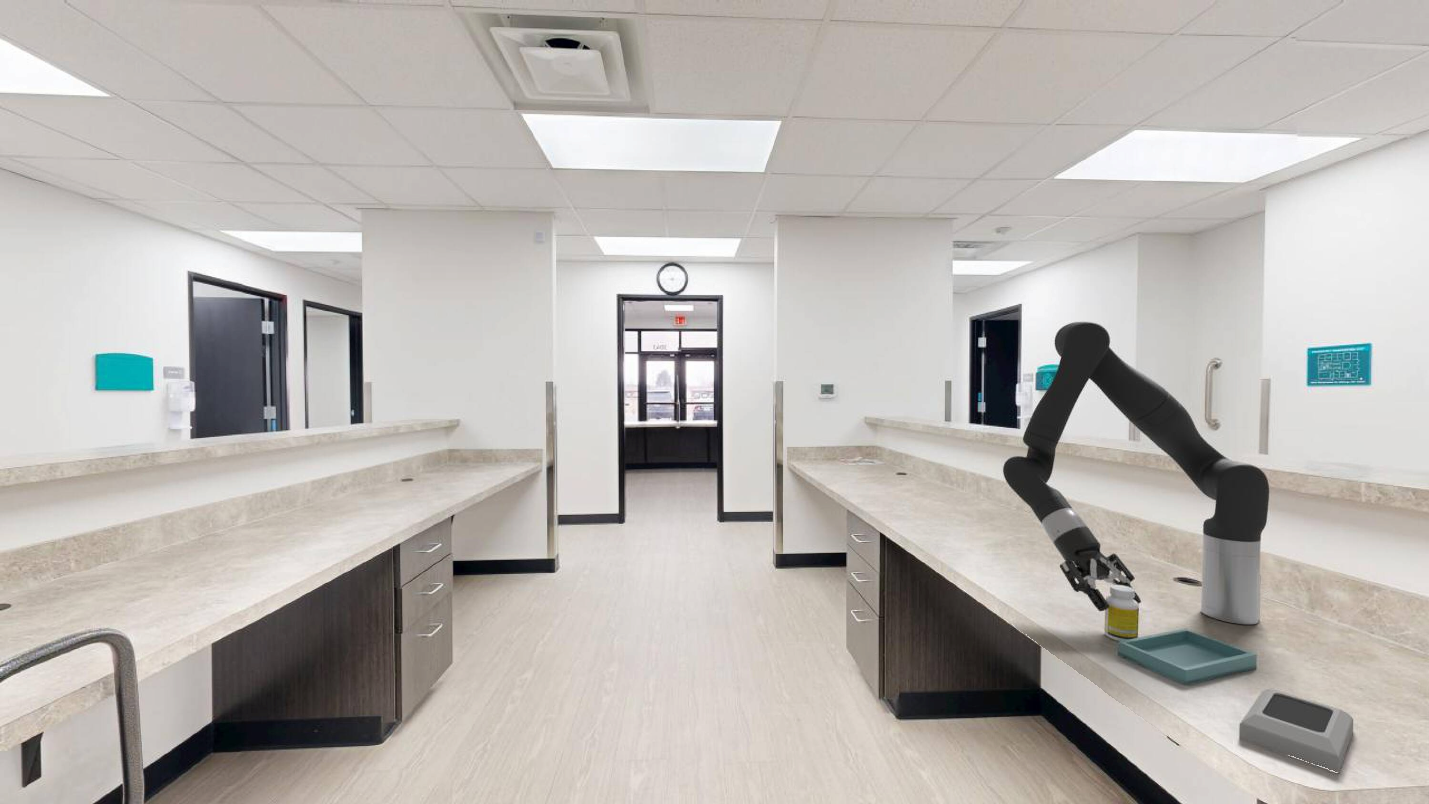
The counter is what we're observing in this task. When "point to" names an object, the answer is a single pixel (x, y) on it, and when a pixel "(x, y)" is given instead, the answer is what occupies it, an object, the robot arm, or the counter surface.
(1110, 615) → the supplement bottle
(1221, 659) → the tray
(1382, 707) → the counter surface
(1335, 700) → the counter surface
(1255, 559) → the robot arm
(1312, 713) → the gray beveled slab
